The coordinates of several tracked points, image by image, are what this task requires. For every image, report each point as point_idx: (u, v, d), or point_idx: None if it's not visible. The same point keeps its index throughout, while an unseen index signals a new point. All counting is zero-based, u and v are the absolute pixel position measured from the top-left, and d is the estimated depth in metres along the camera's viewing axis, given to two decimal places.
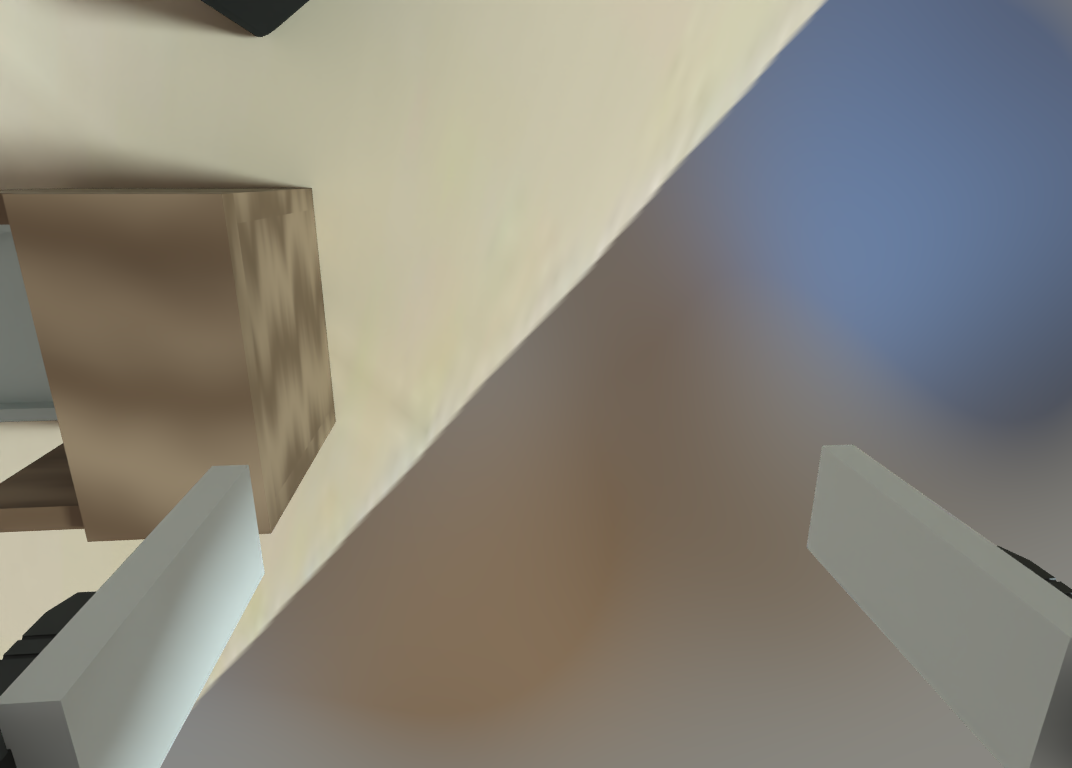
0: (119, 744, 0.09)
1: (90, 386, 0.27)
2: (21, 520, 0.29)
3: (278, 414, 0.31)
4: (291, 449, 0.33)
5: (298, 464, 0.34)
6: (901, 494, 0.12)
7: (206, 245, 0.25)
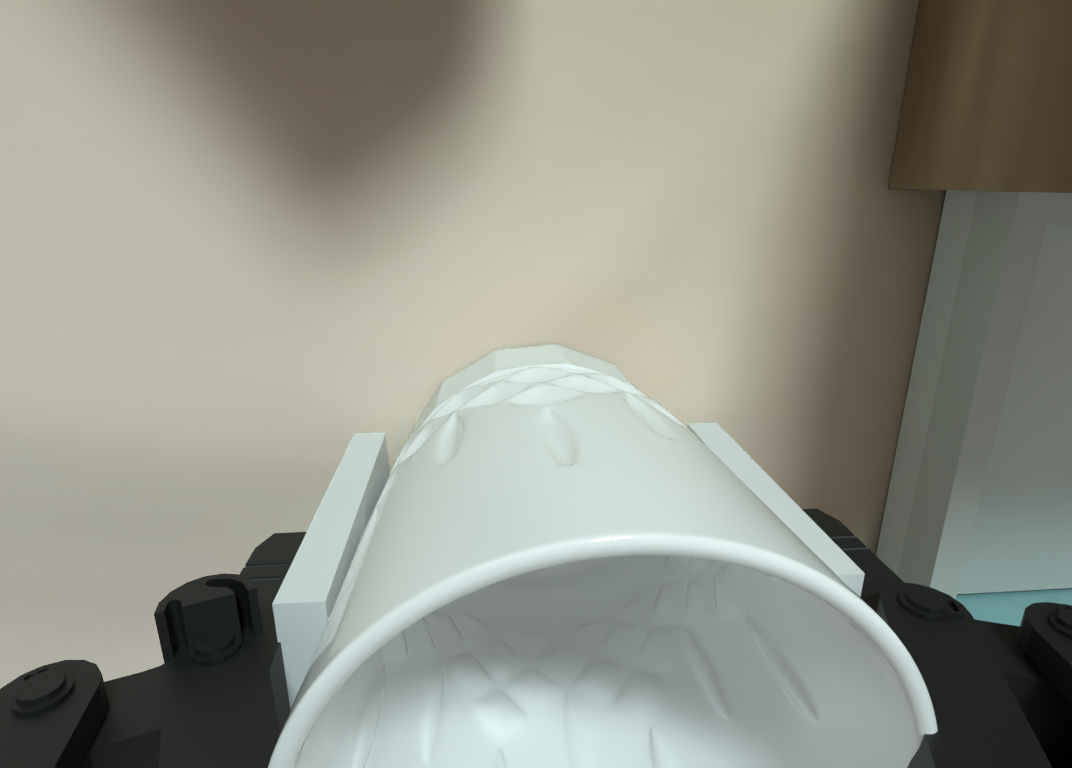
0: None
1: None
2: None
3: None
4: None
5: None
6: (737, 464, 0.14)
7: None
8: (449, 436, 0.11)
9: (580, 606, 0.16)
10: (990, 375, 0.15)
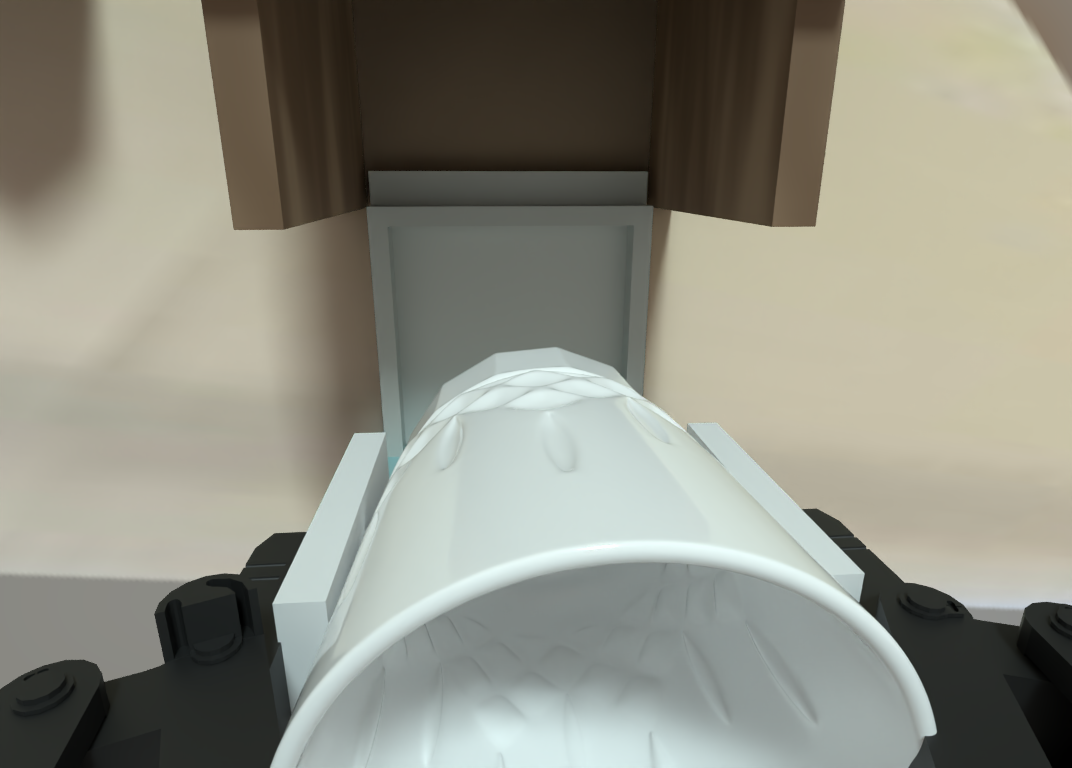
0: None
1: None
2: (807, 122, 0.16)
3: None
4: None
5: None
6: (737, 463, 0.14)
7: None
8: (449, 440, 0.11)
9: (580, 609, 0.16)
10: (381, 307, 0.27)
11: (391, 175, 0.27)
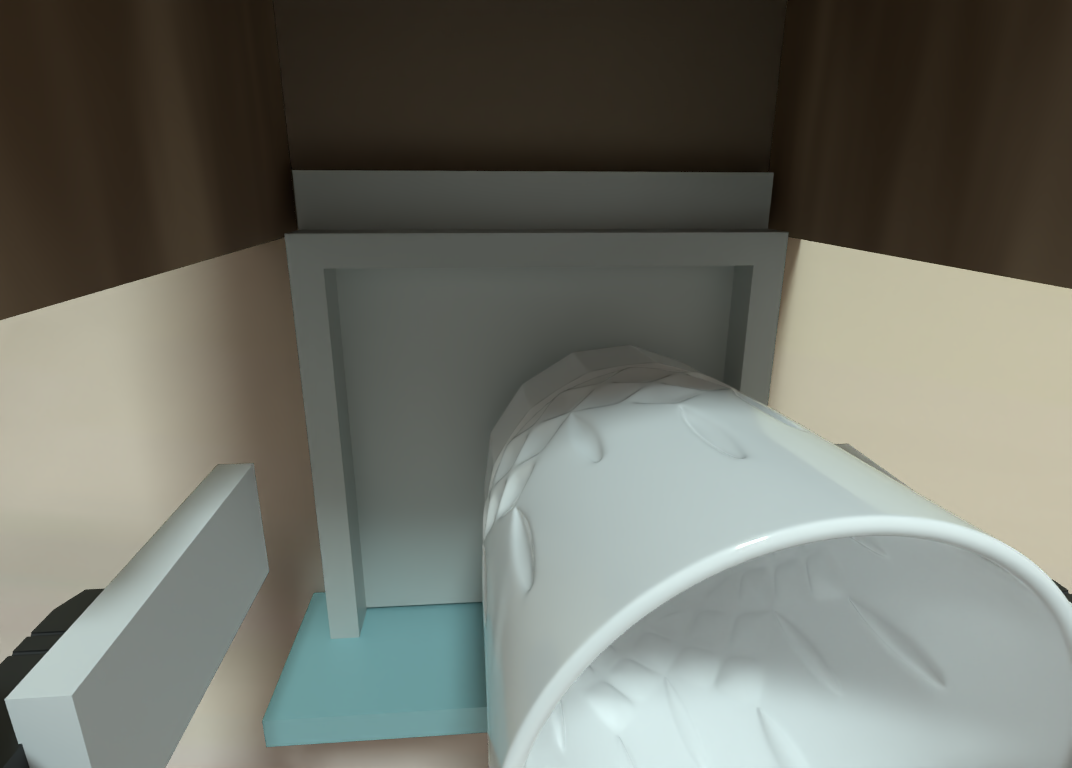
0: (128, 739, 0.09)
1: None
2: None
3: None
4: None
5: None
6: None
7: None
8: (578, 436, 0.11)
9: None
10: (317, 405, 0.16)
11: (333, 177, 0.15)
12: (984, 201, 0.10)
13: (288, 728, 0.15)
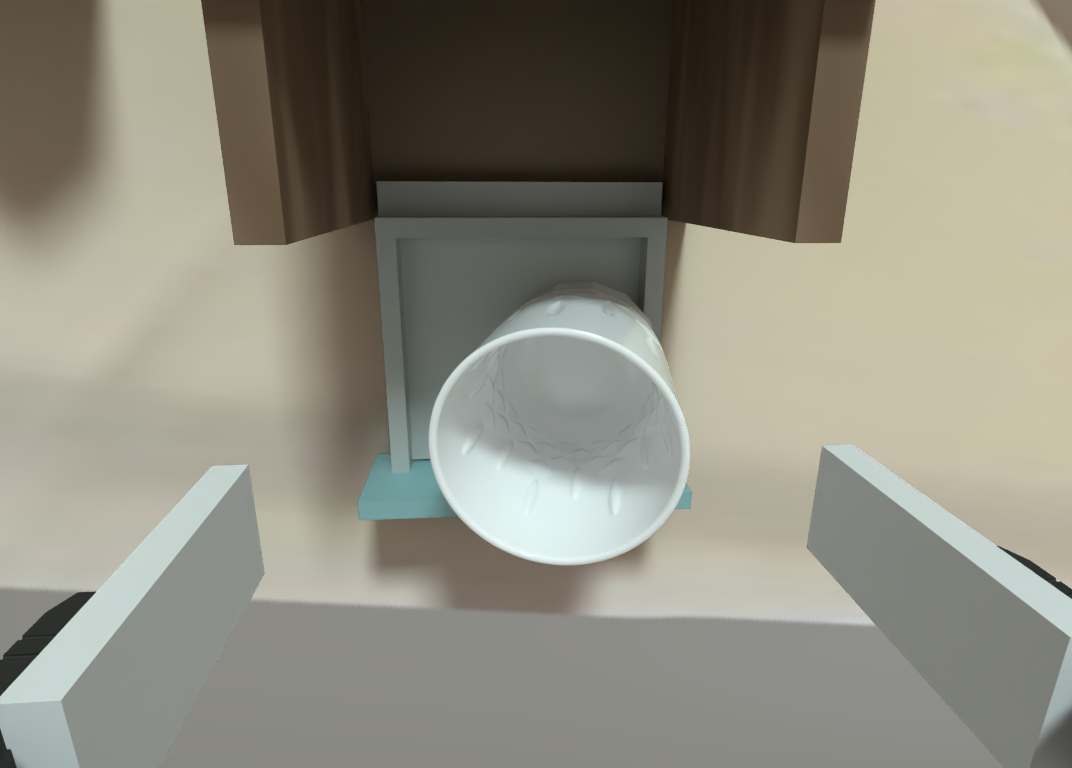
0: (119, 744, 0.09)
1: None
2: (833, 134, 0.15)
3: None
4: None
5: None
6: (901, 494, 0.12)
7: None
8: (516, 314, 0.23)
9: (597, 433, 0.27)
10: (389, 320, 0.27)
11: (400, 185, 0.26)
12: (726, 196, 0.21)
13: (372, 508, 0.26)
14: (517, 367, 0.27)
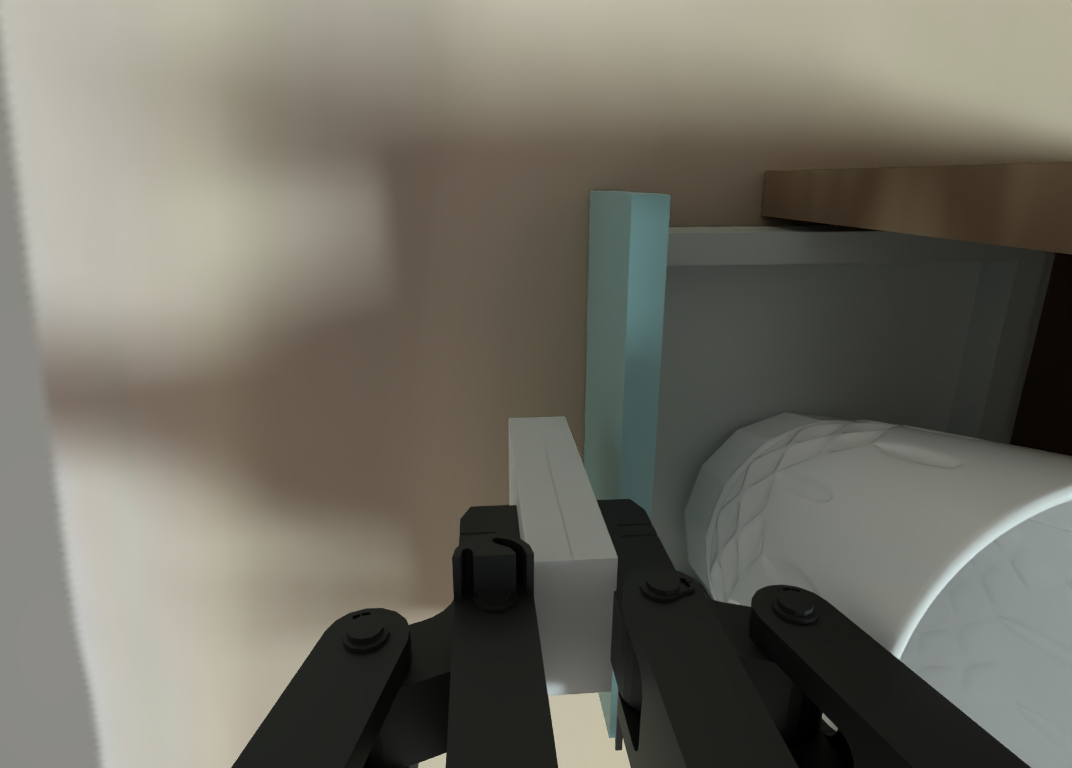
0: None
1: None
2: None
3: None
4: None
5: None
6: (560, 455, 0.14)
7: None
8: None
9: None
10: (900, 243, 0.17)
11: (1048, 260, 0.18)
12: None
13: (656, 223, 0.13)
14: None
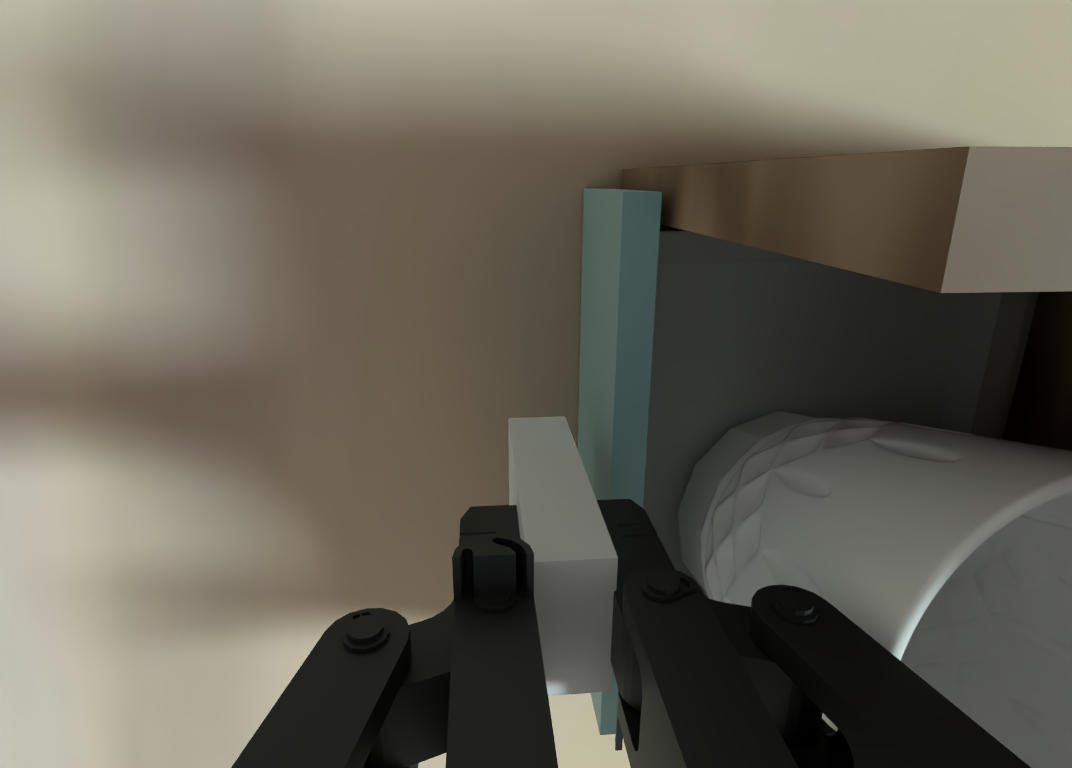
0: None
1: None
2: None
3: None
4: None
5: None
6: (561, 455, 0.14)
7: None
8: None
9: None
10: None
11: None
12: None
13: (647, 221, 0.13)
14: None
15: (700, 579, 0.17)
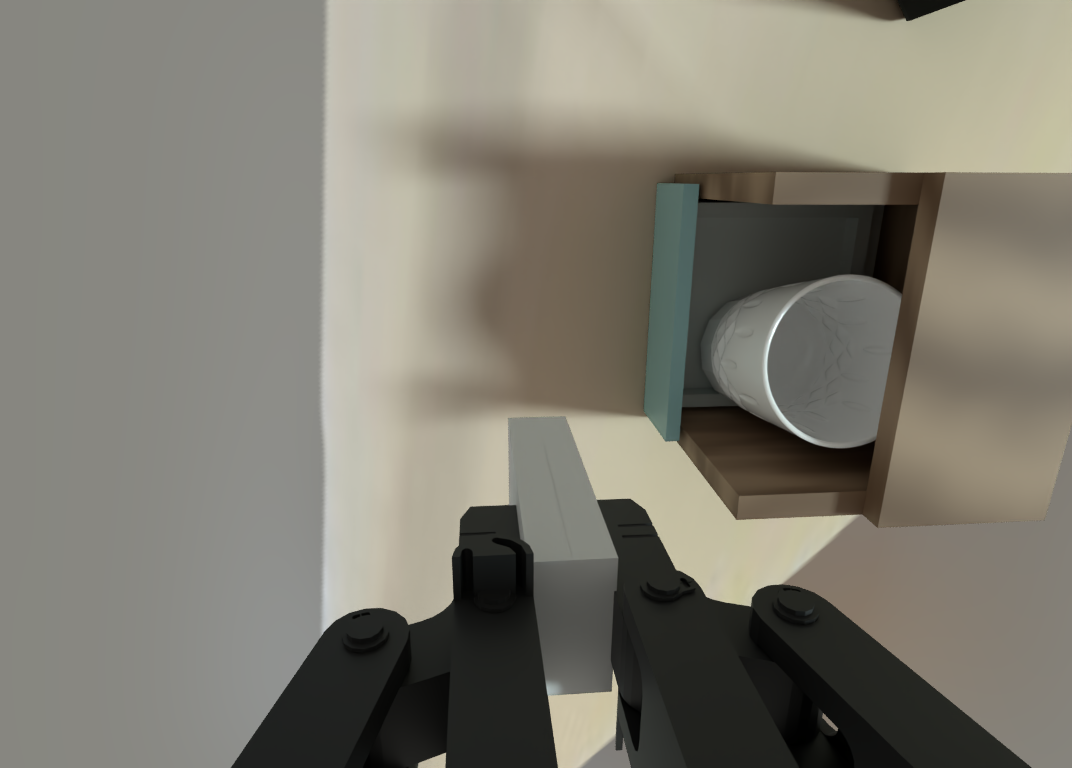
0: None
1: (945, 369, 0.26)
2: (792, 506, 0.29)
3: None
4: None
5: None
6: (561, 455, 0.14)
7: None
8: None
9: None
10: (802, 208, 0.36)
11: (879, 219, 0.37)
12: (721, 449, 0.33)
13: (693, 196, 0.32)
14: None
15: (710, 368, 0.36)
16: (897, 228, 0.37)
